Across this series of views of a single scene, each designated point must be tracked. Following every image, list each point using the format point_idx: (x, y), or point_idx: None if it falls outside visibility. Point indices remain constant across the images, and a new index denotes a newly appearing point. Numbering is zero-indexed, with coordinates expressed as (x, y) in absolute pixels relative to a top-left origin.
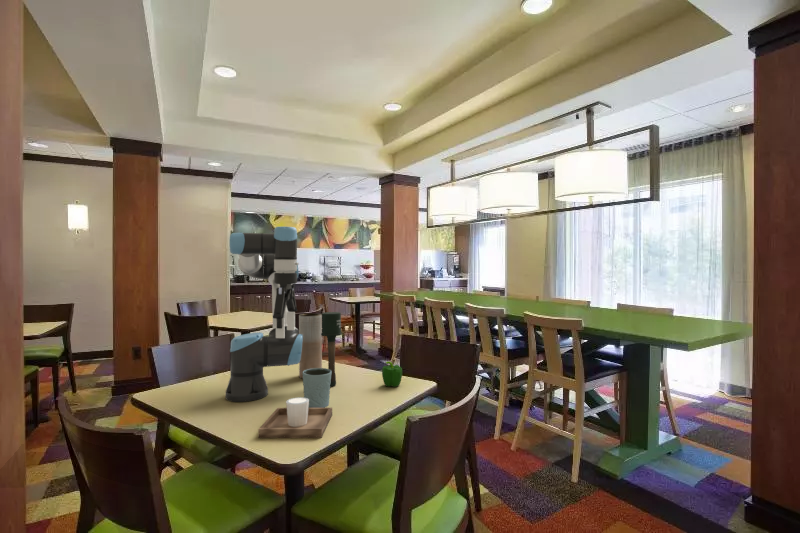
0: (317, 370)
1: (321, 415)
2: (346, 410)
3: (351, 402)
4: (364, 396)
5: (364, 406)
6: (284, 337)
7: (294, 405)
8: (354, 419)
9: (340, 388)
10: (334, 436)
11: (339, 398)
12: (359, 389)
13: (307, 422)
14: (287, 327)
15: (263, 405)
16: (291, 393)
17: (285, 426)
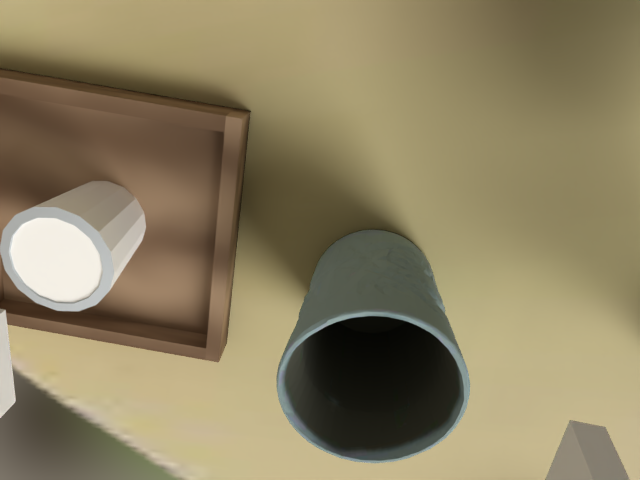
0: (458, 386)
1: (194, 308)
2: None
3: None
4: (451, 472)
5: (316, 457)
6: (4, 402)
7: (3, 247)
8: (173, 412)
9: (624, 393)
10: (14, 341)
11: None
12: None
13: None
14: (578, 460)
15: (433, 3)
16: (629, 145)
17: (70, 170)
